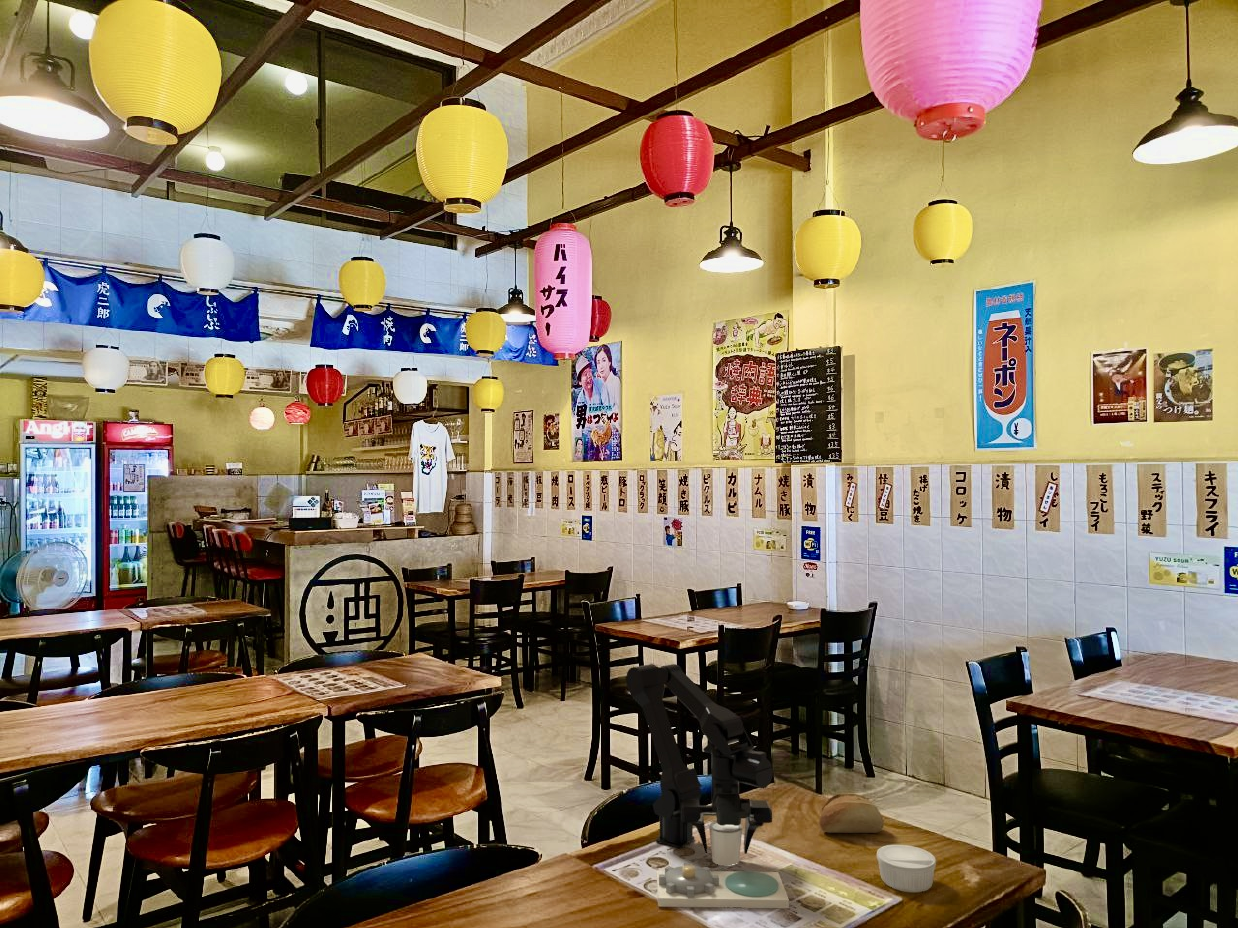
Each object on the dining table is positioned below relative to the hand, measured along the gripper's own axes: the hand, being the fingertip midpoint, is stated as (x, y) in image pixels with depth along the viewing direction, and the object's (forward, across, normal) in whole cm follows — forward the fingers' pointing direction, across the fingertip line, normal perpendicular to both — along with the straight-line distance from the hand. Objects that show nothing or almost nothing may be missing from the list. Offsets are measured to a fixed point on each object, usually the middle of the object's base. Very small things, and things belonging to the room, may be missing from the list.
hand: (725, 852), depth 174 cm
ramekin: (+2, +34, -9) cm, 36 cm away
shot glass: (+2, 0, 0) cm, 2 cm away
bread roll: (+2, +30, +17) cm, 35 cm away
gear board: (+2, -3, -15) cm, 15 cm away
